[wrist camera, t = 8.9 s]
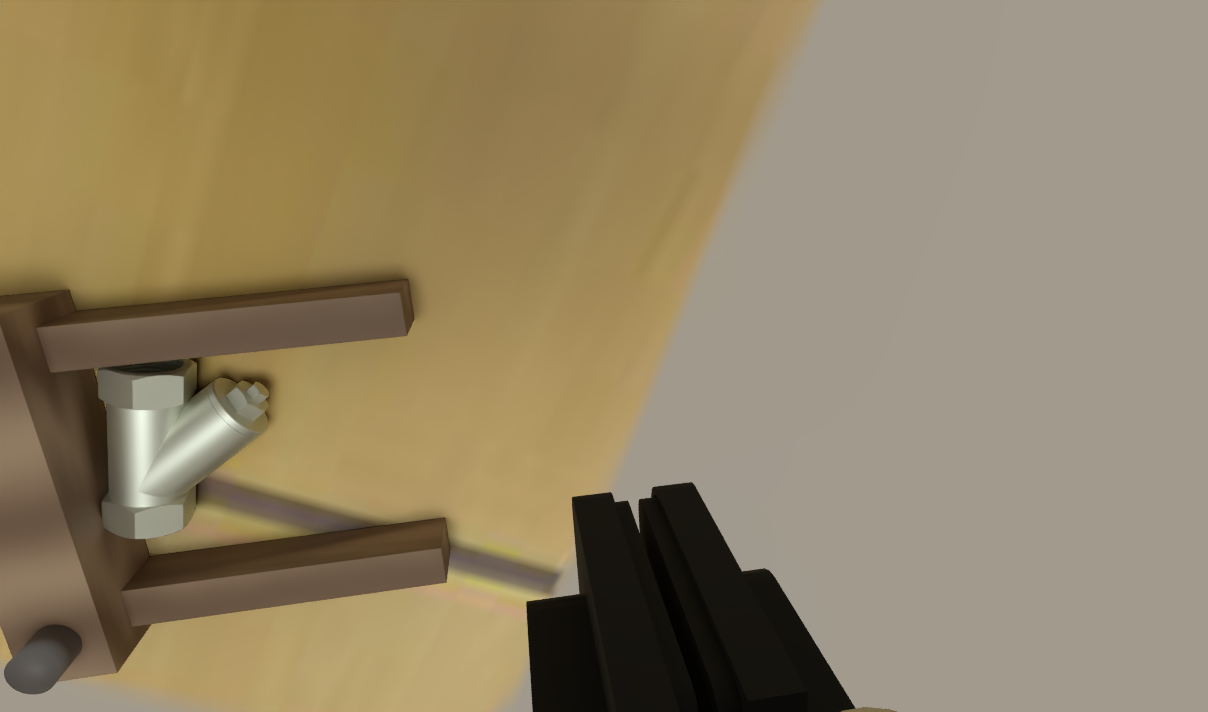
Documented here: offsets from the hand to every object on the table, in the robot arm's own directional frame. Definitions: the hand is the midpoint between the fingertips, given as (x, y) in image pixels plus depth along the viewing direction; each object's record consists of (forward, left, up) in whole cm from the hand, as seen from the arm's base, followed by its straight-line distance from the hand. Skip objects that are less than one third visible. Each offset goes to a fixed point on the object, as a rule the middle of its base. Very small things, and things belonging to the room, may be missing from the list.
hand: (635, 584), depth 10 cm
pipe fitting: (+7, -17, -28) cm, 33 cm away
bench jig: (+8, -17, -27) cm, 33 cm away
